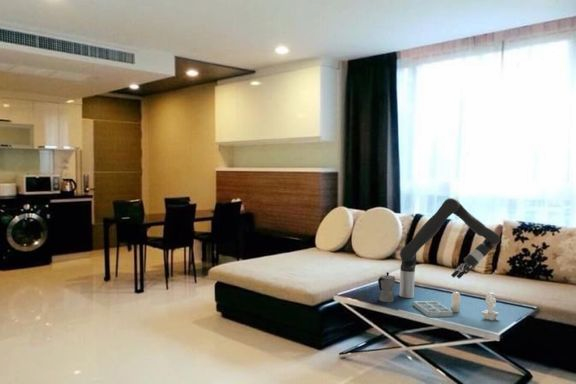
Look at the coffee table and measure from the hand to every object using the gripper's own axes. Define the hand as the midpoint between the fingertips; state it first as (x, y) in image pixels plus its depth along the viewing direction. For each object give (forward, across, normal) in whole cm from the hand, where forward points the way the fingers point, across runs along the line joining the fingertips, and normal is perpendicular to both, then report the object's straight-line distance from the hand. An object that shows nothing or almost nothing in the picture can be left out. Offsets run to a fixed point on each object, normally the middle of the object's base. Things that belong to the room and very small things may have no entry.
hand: (455, 277), depth 274 cm
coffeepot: (+39, -20, -14) cm, 46 cm away
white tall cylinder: (+14, -2, +15) cm, 20 cm away
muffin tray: (+24, -1, +5) cm, 24 cm away
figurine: (+5, +11, +27) cm, 29 cm away
